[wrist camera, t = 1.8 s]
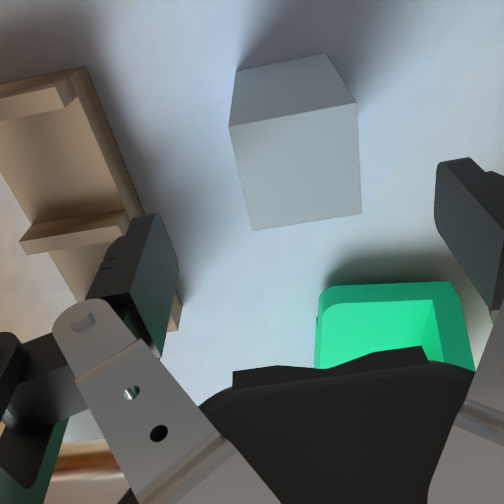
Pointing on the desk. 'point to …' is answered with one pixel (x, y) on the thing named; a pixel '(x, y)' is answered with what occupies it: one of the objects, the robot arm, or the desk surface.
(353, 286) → the camera mount
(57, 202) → the rail
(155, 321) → the robot arm
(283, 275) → the desk surface
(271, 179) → the finger block
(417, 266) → the desk surface
